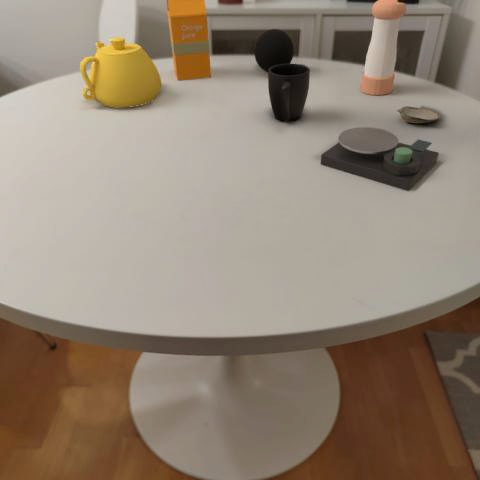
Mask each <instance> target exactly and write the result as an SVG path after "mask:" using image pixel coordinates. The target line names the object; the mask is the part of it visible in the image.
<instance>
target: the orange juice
mask: <svg viewBox="0 0 480 480" xmlns="http://www.w3.org/2000/svg"><path fill="white" fill-rule="evenodd" d="M166 5H167V6H166V7H167V8H166V9H167V10H166V13H167V19H168V28H169V37H170V38H169V39H170V46H171V53H172V61H173V70H174V74H175V77H176V80H177V81H178V80H180V81H187V79H190V80H196V79H195V78H199V79H206V78H205V77H209V78H212V70H211V69H212V68H211V56H210V41H209V40H210V39H209V30H208V29H209V27H208V16H207V15H208V14H207V9H206V7H207V6H206V2H205V0H166Z"/></svg>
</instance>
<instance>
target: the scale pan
mask: <svg viewBox="0 0 480 480" xmlns="http://www.w3.org/2000/svg"><path fill="white" fill-rule="evenodd" d="M337 139H338V140H337V141H338V143H340V144H341V145H342V146H343V147H344V148H346V149H348V150H351V151H354V152H358V153H365V154H380V153H386V152H389V151H392V150H394V149H395V148H396V147H397V146H398V142H399V138H398V137H397V135H396V134H394V133H392V132H391V131H389V130H386V129H382V128H378V127H369V126H363V127H362V126H361V127H360V126H359V127H353V128H348V129H346V130H344V131H342V132H341V133H340V134H339V135H338V138H337ZM399 143H400V142H399ZM432 143H433V142H431V141H427V140H423V139H417V140H416V141H414V142H413V143H412V144H411V146H410V147H409V149H411V150H415V151H419V152H423V151H424V150H428V148H429V147H430V146H431V145H432Z"/></svg>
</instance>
